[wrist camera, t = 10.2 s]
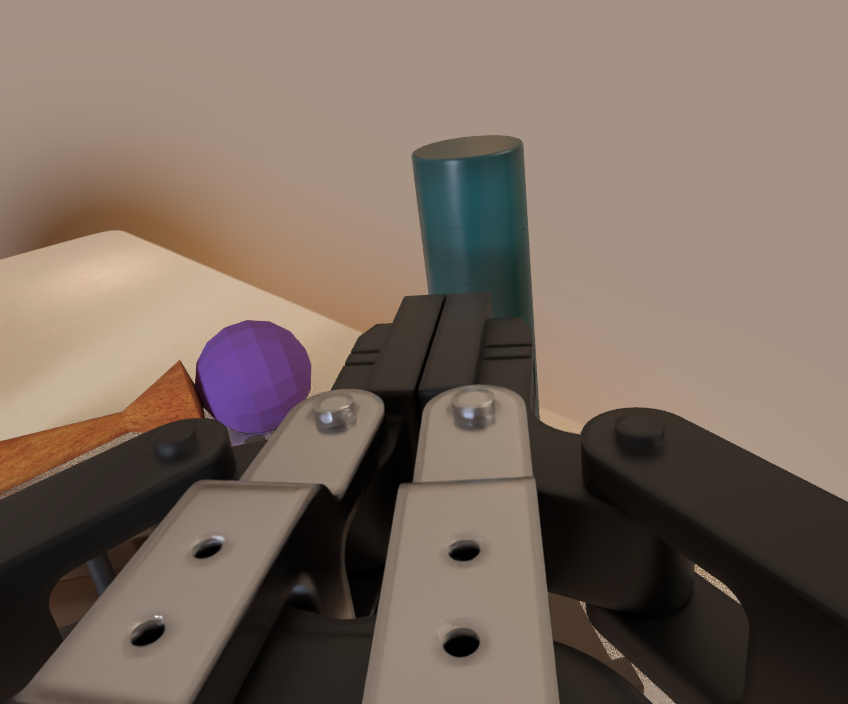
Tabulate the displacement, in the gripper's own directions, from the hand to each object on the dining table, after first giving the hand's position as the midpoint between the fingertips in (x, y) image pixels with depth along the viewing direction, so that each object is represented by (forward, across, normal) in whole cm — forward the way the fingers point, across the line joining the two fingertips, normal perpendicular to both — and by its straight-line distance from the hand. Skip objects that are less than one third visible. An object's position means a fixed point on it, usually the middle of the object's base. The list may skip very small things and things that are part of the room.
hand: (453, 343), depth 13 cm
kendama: (+18, +20, +15) cm, 31 cm away
